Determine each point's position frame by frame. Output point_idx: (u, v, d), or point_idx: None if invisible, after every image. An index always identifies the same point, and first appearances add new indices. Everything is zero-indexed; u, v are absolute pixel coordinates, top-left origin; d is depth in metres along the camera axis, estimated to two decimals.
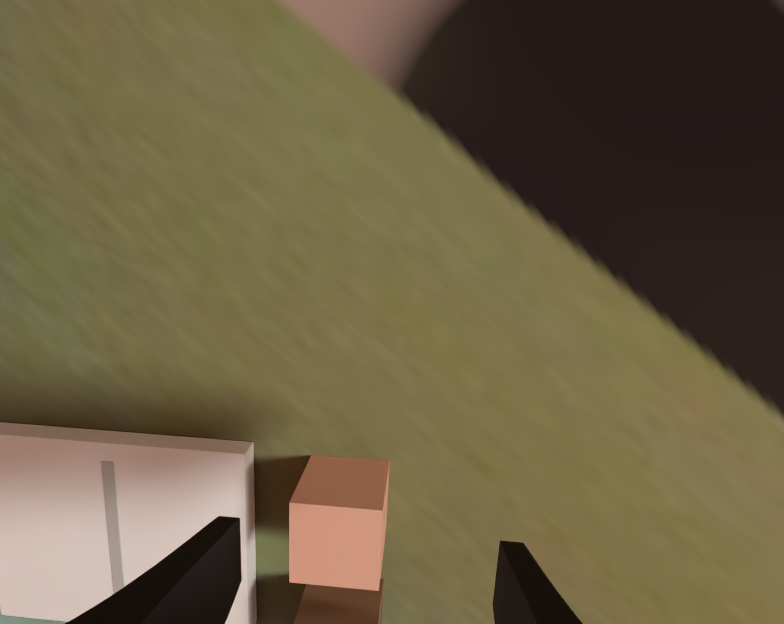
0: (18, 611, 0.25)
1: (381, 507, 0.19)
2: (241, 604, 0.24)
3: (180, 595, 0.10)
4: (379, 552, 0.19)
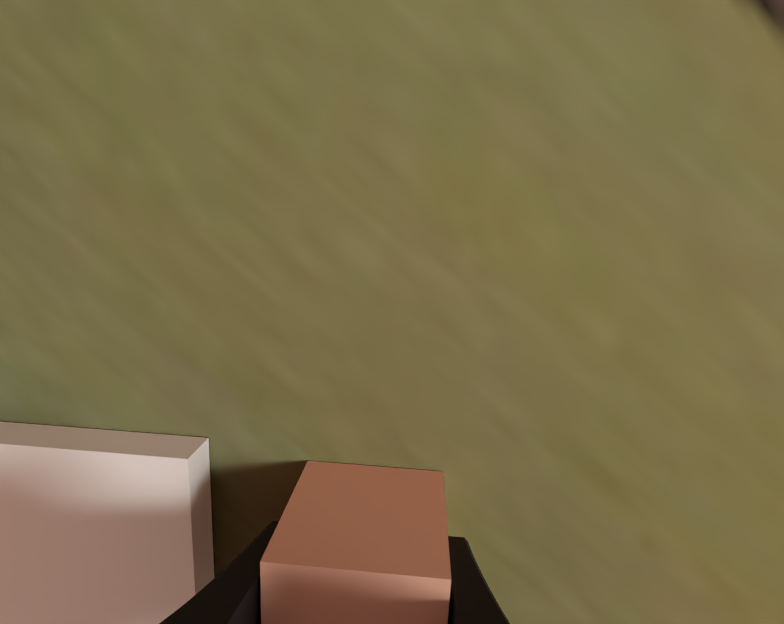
0: None
1: (447, 572, 0.09)
2: None
3: (250, 602, 0.09)
4: None
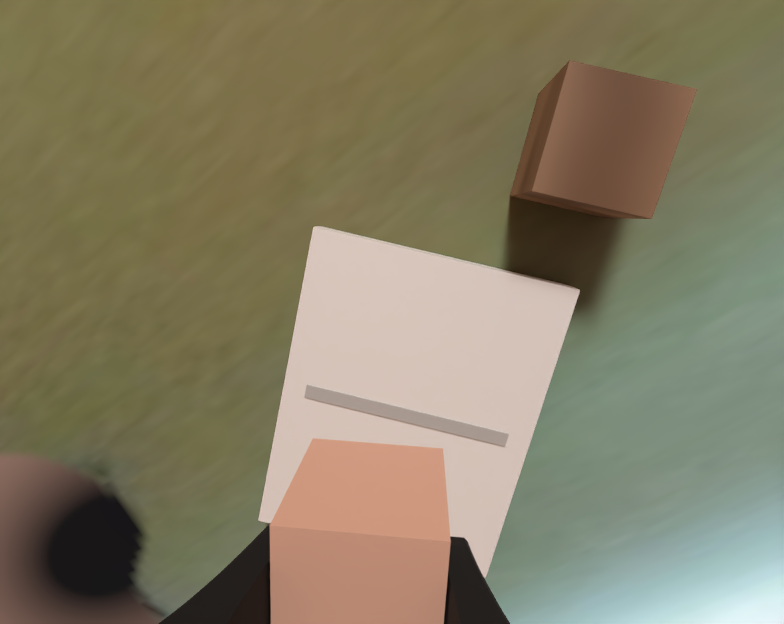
0: (484, 557, 0.21)
1: (447, 535, 0.10)
2: (522, 285, 0.18)
3: (250, 602, 0.09)
4: (441, 620, 0.10)
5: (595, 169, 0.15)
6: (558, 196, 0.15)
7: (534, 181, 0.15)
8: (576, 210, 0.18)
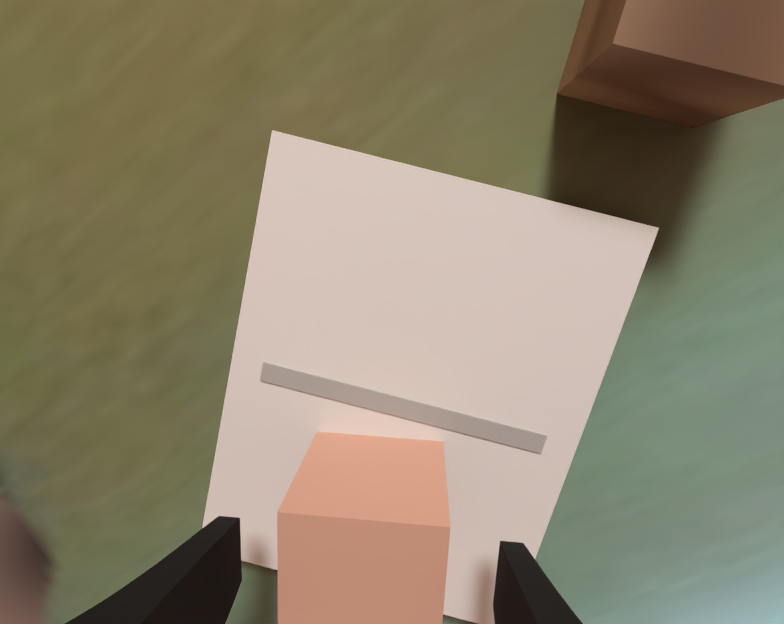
0: None
1: (447, 521, 0.10)
2: (574, 220, 0.12)
3: (180, 595, 0.10)
4: (441, 603, 0.11)
5: (718, 6, 0.09)
6: (654, 53, 0.09)
7: (616, 28, 0.09)
8: (654, 113, 0.13)
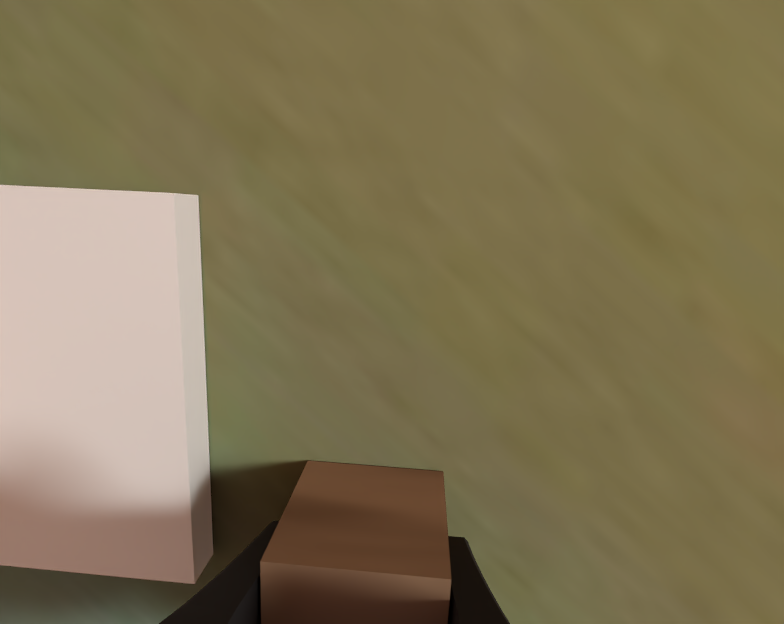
0: None
1: None
2: (178, 514, 0.13)
3: (251, 602, 0.09)
4: None
5: None
6: (262, 595, 0.10)
7: (276, 560, 0.10)
8: None
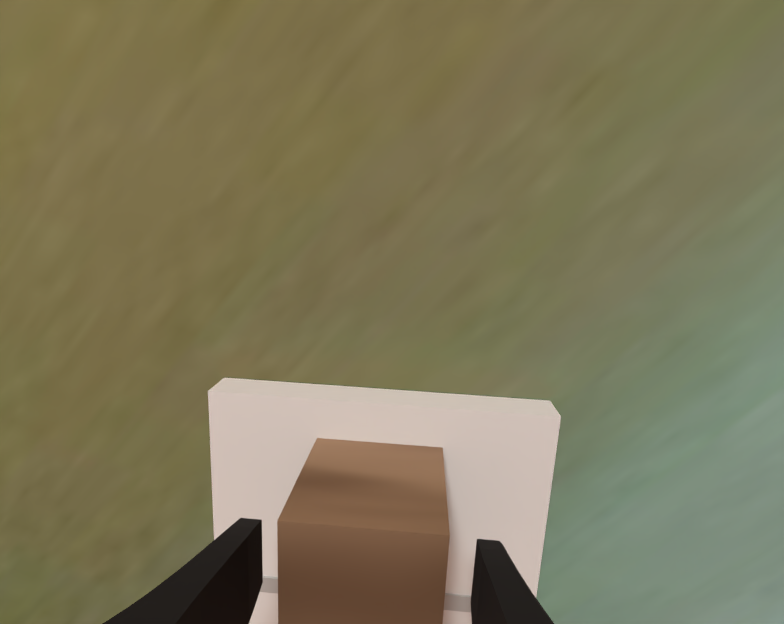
0: None
1: None
2: (484, 421, 0.14)
3: (208, 598, 0.09)
4: None
5: (321, 589, 0.11)
6: (278, 552, 0.11)
7: (291, 519, 0.11)
8: None
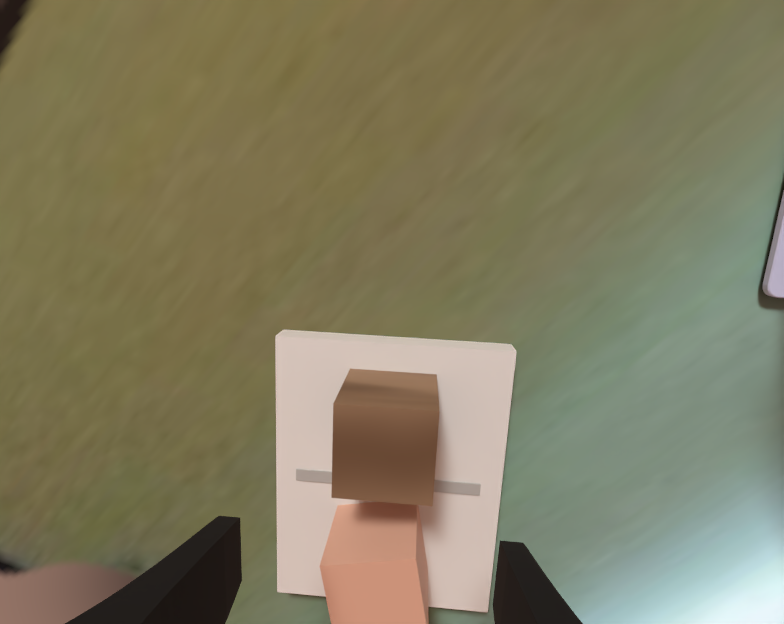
0: (482, 594, 0.23)
1: (414, 555, 0.18)
2: (465, 355, 0.20)
3: (180, 595, 0.10)
4: (421, 601, 0.19)
5: (359, 448, 0.17)
6: (333, 425, 0.17)
7: (341, 403, 0.17)
8: None
